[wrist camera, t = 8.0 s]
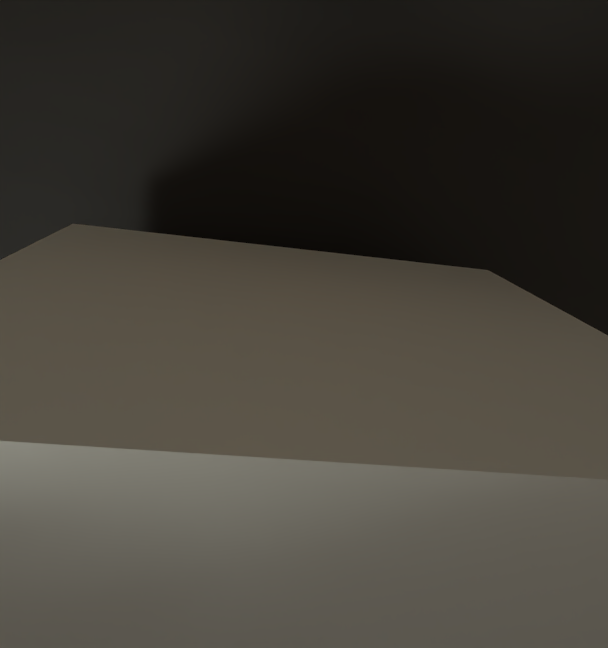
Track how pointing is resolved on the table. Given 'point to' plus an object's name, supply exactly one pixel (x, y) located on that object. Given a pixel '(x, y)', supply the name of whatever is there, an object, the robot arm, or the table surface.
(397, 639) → the pale grey carton
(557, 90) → the table surface
